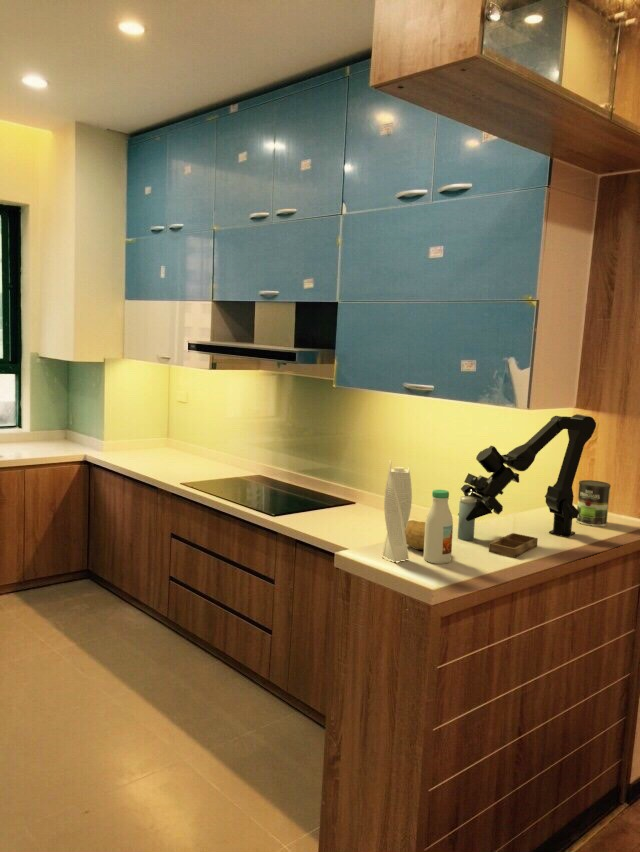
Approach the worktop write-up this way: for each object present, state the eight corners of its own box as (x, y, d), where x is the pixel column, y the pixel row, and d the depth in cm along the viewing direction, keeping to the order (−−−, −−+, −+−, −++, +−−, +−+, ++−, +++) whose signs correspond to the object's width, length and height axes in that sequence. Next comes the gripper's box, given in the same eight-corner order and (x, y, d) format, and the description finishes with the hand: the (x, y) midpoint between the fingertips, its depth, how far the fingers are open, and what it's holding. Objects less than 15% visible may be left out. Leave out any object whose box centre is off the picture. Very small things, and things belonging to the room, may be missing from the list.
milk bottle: (432, 565, 198) (436, 494, 195) (418, 557, 205) (421, 488, 202) (456, 563, 201) (460, 493, 198) (441, 554, 208) (444, 487, 205)
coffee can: (601, 528, 243) (604, 487, 241) (571, 522, 250) (574, 482, 248) (611, 522, 251) (615, 483, 249) (582, 517, 257) (585, 478, 256)
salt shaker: (462, 535, 229) (464, 495, 228) (476, 538, 226) (479, 497, 224) (454, 538, 225) (456, 497, 224) (469, 541, 222) (471, 500, 221)
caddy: (512, 540, 224) (512, 532, 224) (537, 546, 219) (537, 538, 219) (488, 551, 212) (489, 543, 212) (514, 557, 207) (515, 549, 207)
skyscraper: (375, 558, 203) (379, 460, 199) (393, 553, 208) (398, 458, 204) (395, 565, 197) (400, 465, 193) (414, 560, 202) (418, 462, 198)
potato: (414, 540, 222) (415, 514, 221) (446, 552, 211) (448, 525, 210) (390, 544, 217) (391, 518, 216) (422, 557, 205) (423, 530, 204)
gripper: (467, 459, 233) (434, 494, 231) (496, 470, 215) (460, 508, 213) (488, 483, 236) (455, 517, 234) (517, 495, 218) (482, 532, 216)
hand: (462, 518), depth 225 cm, fingers closed on salt shaker, 5 cm apart
